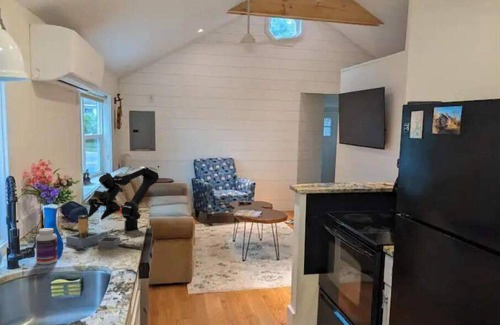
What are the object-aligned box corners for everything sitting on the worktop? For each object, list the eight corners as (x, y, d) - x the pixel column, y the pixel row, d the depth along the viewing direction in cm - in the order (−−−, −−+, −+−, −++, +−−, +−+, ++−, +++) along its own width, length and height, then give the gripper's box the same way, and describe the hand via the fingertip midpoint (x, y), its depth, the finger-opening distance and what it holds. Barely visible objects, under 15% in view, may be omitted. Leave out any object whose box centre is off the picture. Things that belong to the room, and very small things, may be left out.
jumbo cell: (89, 240, 191) (89, 215, 190) (86, 242, 187) (86, 217, 186) (80, 240, 191) (80, 215, 190) (77, 242, 186) (77, 217, 185)
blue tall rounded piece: (70, 232, 207) (70, 196, 206) (56, 237, 198) (55, 199, 196) (50, 229, 212) (49, 194, 210) (35, 233, 203) (34, 197, 201)
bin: (84, 238, 196) (84, 231, 196) (99, 242, 191) (99, 234, 191) (66, 244, 186) (66, 236, 186) (81, 247, 182) (81, 239, 181)
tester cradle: (104, 243, 189) (104, 236, 189) (120, 244, 189) (120, 237, 189) (97, 248, 181) (97, 241, 181) (114, 249, 181) (114, 242, 181)
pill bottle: (60, 262, 161) (59, 229, 160) (39, 267, 156) (38, 232, 154) (54, 257, 167) (53, 225, 166) (33, 261, 161) (33, 228, 160)
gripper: (90, 183, 202) (72, 207, 193) (115, 186, 193) (98, 211, 185) (102, 195, 209) (85, 218, 201) (127, 199, 201) (111, 223, 192)
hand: (94, 218), depth 194 cm, fingers open, 9 cm apart
